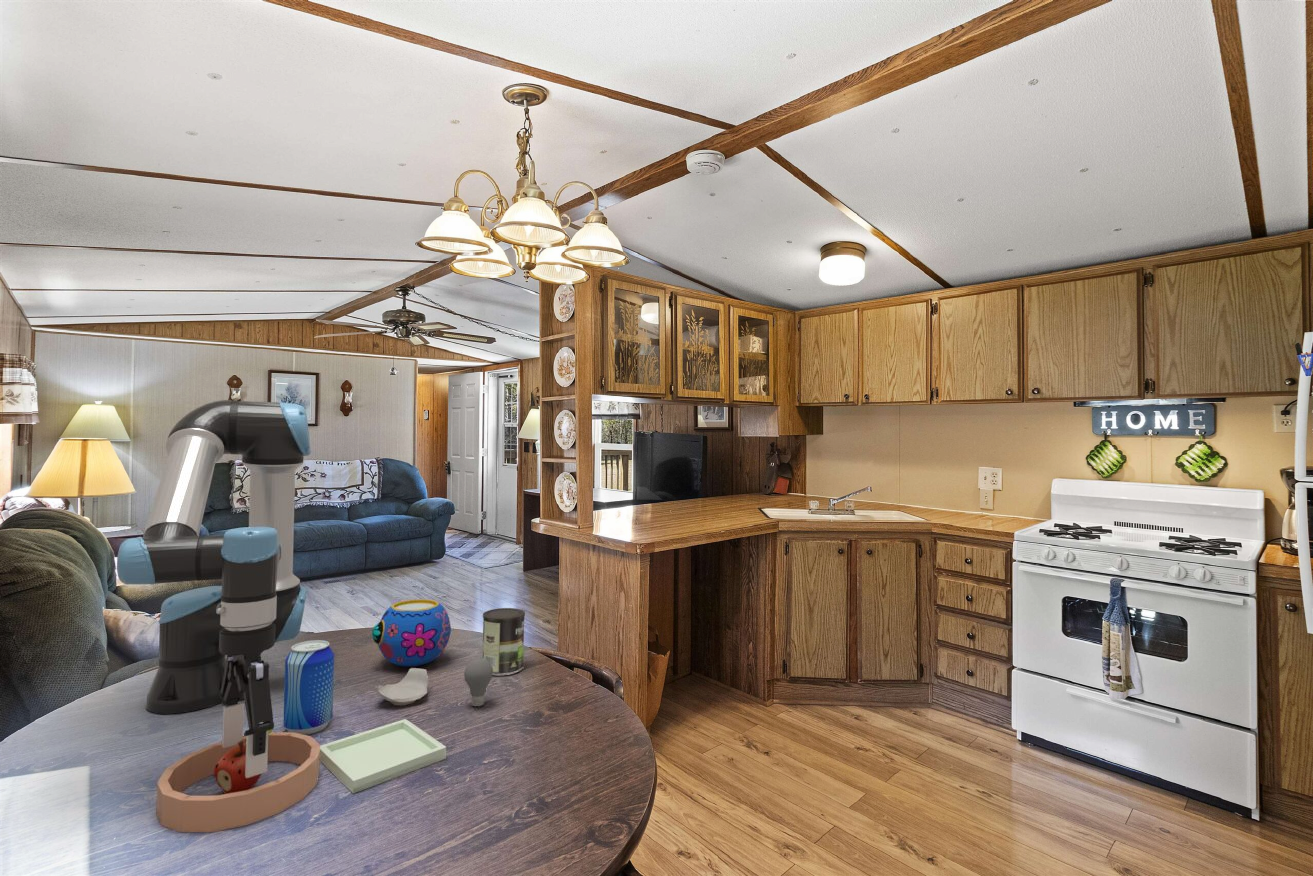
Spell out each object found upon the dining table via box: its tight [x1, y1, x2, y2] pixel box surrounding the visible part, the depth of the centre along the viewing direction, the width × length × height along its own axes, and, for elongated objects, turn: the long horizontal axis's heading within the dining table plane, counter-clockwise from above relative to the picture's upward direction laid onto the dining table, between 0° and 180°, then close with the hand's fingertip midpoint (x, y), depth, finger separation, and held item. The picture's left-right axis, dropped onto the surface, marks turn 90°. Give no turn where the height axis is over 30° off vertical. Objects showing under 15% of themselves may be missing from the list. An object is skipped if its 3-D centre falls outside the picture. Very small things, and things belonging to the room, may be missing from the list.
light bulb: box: [463, 657, 493, 707], centre depth 133 cm, size 6×6×10 cm
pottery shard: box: [374, 667, 429, 706], centre depth 136 cm, size 10×11×5 cm
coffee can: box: [481, 607, 526, 674], centre depth 155 cm, size 10×10×14 cm
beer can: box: [283, 639, 335, 735], centre depth 122 cm, size 8×8×16 cm
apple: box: [213, 728, 275, 794], centre depth 99 cm, size 8×7×10 cm
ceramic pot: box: [371, 598, 452, 668], centre depth 158 cm, size 18×18×15 cm
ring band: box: [155, 731, 321, 833], centre depth 99 cm, size 21×21×4 cm
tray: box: [320, 718, 447, 794], centre depth 110 cm, size 16×16×2 cm
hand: (243, 759), depth 99 cm, fingers open, 13 cm apart
